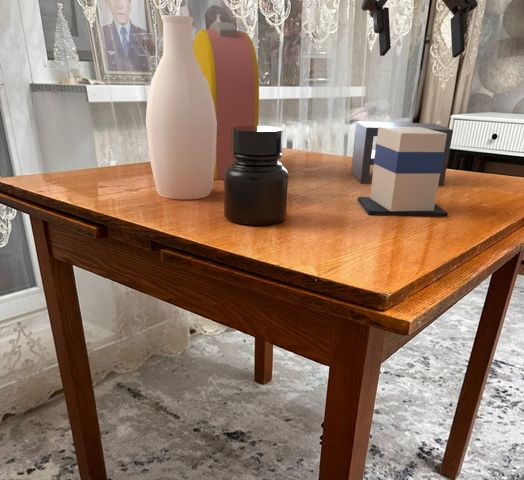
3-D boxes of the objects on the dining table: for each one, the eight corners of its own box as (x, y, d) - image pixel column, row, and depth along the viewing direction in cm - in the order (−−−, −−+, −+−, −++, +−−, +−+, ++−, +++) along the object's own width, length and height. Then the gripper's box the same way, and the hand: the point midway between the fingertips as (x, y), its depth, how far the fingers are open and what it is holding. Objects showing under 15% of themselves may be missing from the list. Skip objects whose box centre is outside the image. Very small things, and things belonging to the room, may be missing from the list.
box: (409, 197, 90) (420, 127, 85) (434, 210, 82) (447, 133, 77) (369, 198, 89) (377, 126, 84) (390, 211, 81) (401, 133, 76)
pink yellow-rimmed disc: (258, 178, 105) (262, 20, 93) (212, 179, 103) (210, 17, 90) (231, 161, 123) (232, 26, 111) (192, 161, 120) (188, 24, 108)
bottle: (139, 198, 87) (124, 12, 75) (165, 185, 96) (156, 19, 85) (205, 203, 85) (201, 13, 73) (225, 190, 94) (224, 20, 82)
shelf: (426, 174, 114) (434, 123, 110) (443, 185, 104) (453, 129, 99) (351, 172, 114) (356, 121, 109) (360, 183, 103) (366, 127, 99)
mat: (428, 202, 90) (429, 198, 90) (447, 217, 82) (448, 213, 81) (357, 200, 90) (357, 196, 90) (368, 214, 81) (368, 210, 81)
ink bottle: (300, 218, 78) (306, 129, 72) (263, 230, 72) (266, 134, 66) (248, 207, 83) (249, 123, 78) (209, 218, 77) (207, 127, 71)
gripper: (469, -57, 97) (475, 64, 98) (338, -66, 92) (345, 61, 94) (495, -88, 90) (501, 43, 91) (353, -100, 85) (362, 39, 86)
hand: (422, 53), depth 92 cm, fingers open, 13 cm apart
